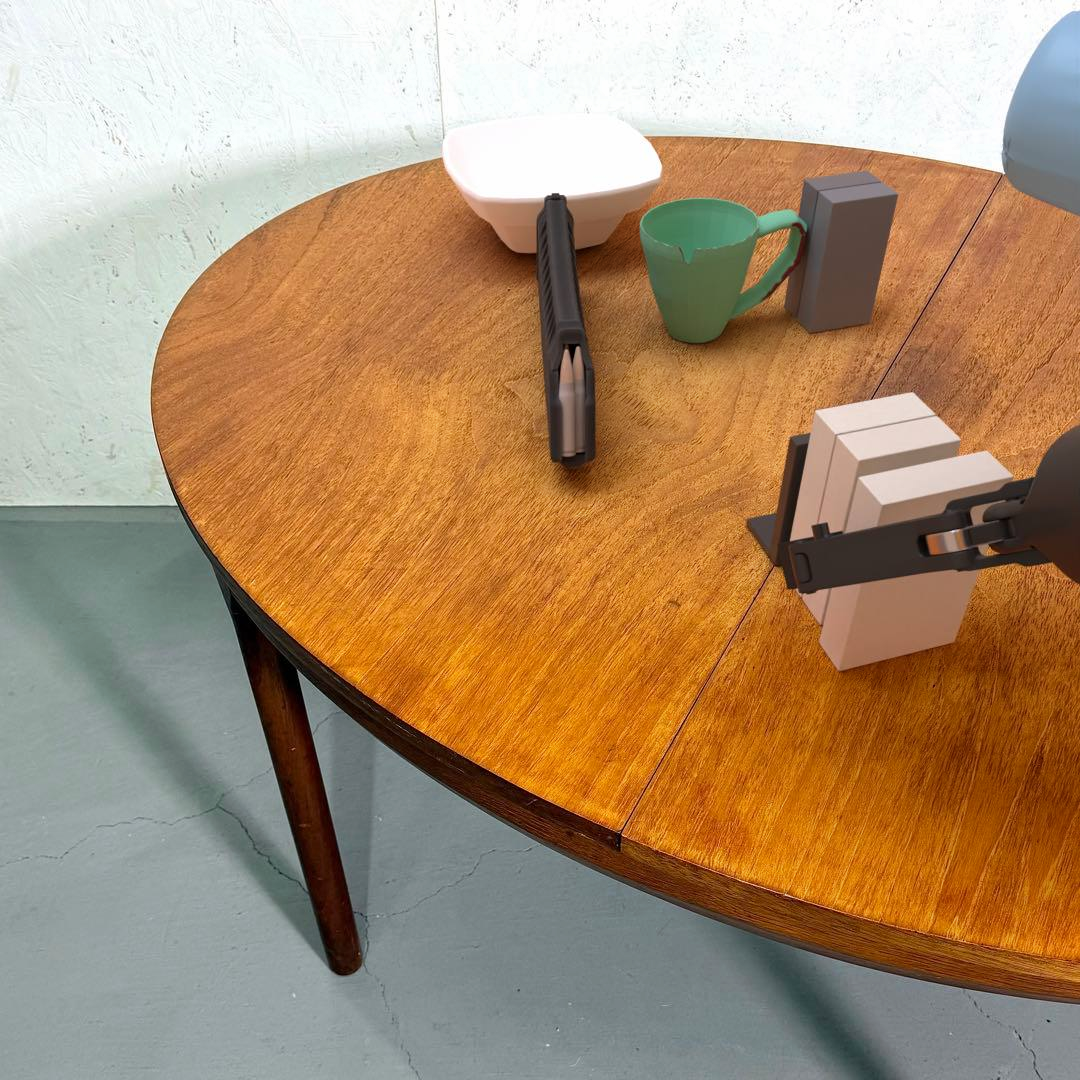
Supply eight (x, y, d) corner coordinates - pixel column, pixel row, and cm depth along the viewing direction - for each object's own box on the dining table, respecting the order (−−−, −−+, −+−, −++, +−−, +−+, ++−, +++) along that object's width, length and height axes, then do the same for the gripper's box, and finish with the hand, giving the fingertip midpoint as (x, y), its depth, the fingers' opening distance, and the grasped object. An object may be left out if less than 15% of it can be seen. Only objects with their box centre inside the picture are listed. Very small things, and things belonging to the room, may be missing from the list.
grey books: (842, 296, 99) (867, 170, 91) (870, 323, 95) (899, 193, 87) (783, 306, 97) (803, 178, 89) (809, 333, 94) (833, 203, 86)
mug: (663, 367, 90) (665, 257, 83) (624, 314, 97) (623, 209, 90) (821, 334, 92) (835, 225, 86) (771, 284, 99) (781, 180, 93)
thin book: (932, 615, 67) (986, 449, 59) (954, 642, 66) (1014, 476, 57) (818, 642, 66) (858, 476, 57) (838, 671, 64) (882, 505, 55)
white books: (835, 505, 76) (871, 346, 67) (914, 603, 68) (966, 438, 60) (745, 524, 74) (770, 364, 66) (816, 626, 67) (854, 461, 58)
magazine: (534, 186, 96) (547, 237, 69) (570, 185, 96) (597, 236, 69) (538, 371, 103) (550, 484, 76) (571, 370, 103) (596, 483, 76)
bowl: (469, 294, 99) (464, 207, 94) (434, 204, 115) (427, 124, 109) (678, 269, 103) (686, 183, 97) (617, 185, 118) (620, 106, 112)
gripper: (916, 659, 39) (711, 650, 60) (1442, 527, 44) (1086, 561, 65) (870, 461, 39) (682, 521, 60) (1397, 353, 45) (1058, 442, 65)
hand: (892, 542), depth 63 cm, fingers open, 13 cm apart
